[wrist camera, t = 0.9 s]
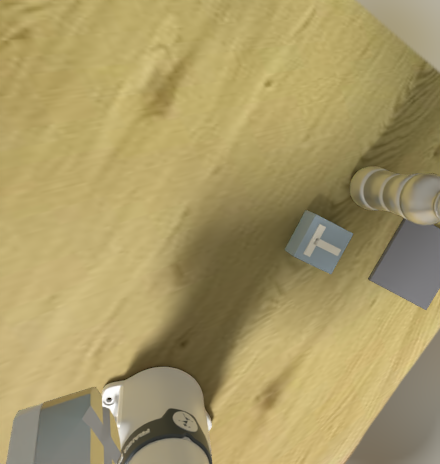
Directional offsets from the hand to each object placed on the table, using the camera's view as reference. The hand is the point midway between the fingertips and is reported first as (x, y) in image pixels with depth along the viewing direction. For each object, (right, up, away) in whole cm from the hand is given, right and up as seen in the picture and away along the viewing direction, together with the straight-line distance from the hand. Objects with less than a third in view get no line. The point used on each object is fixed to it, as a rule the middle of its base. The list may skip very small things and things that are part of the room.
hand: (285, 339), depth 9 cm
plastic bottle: (+21, +10, +57) cm, 62 cm away
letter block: (+13, +1, +57) cm, 59 cm away
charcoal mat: (+32, -3, +62) cm, 70 cm away
